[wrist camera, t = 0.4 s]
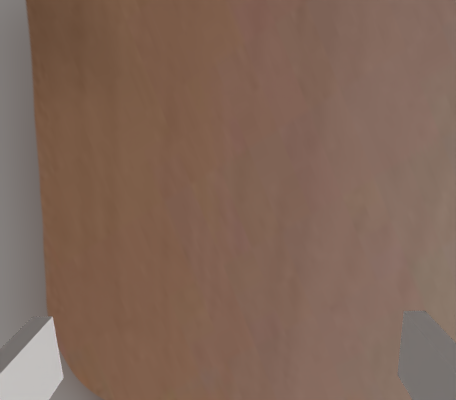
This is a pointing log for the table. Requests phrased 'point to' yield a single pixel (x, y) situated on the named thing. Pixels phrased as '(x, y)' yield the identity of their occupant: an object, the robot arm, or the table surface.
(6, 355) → the robot arm
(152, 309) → the table surface
